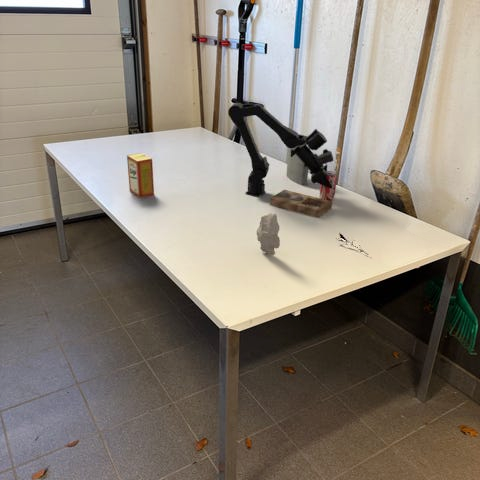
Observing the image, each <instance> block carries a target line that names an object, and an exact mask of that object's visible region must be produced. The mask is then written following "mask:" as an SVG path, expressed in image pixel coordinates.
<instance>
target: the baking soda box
mask: <svg viewBox="0 0 480 480" xmlns="http://www.w3.org/2000/svg"><path fill="white" fill-rule="evenodd" d="M126 158H127V159H126V160H127V161H126V162H127V171H128V185H129V186H128V187H129V192H130V191H131V193H132V192H133V193H132V194H134V195H135V194H136V195H135V196H137V197H138V196H139V197H138V198H141V197H142V198H146V197H149V196H150V197H151V196H154V195H155V188H154V186H155V185H154V168H153V159H152V158H151V157H149V156H147V155H146V154H144V153H135V154H129V155H126Z"/></svg>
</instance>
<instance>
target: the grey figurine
mask: <svg viewBox="0 0 480 480" xmlns="http://www.w3.org/2000/svg"><path fill="white" fill-rule="evenodd" d="M277 217H278V216H277V214H276V213H271V212H270V213H269V214H267V215H263V216H261V217H260V221H259V226H258V228H257V229H256V237H257V238H256V239H257V241H258V242H259V243H260V248H259V249H260V250H261V251H262V252H263V253H265V254H266V255H270V256H275V254H276V251H275V249H278V248H280V246H281V240H280V237H279V236H278V235H279V231H280V224H279V222H278V218H277Z"/></svg>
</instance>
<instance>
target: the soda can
mask: <svg viewBox="0 0 480 480" xmlns="http://www.w3.org/2000/svg"><path fill="white" fill-rule="evenodd" d="M327 178H328V180H329V182H330V183H331V185H332V188H331V189H330V188H328V187H326V186H323V185H321V184H320V189H319V197H318V198H320V199H324V200H328V201H332V202H333V201H334V200H335V197H336V189H337V181H338V175H337V172H335V171H334V170H333V171H332V170H327Z"/></svg>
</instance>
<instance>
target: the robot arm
mask: <svg viewBox="0 0 480 480" xmlns="http://www.w3.org/2000/svg"><path fill="white" fill-rule="evenodd" d="M227 114H228V116H229V118H230V120H231V121H232V123H233V124H234V125H235V126H236V127H237V129H238V131H239V133H240V136H241V139H242V141H243V144H244V146H245V147H246V150H247V153H248V155H249V157H250V161H251V168H252V169H251V171H250V172H249V173H250V174H249V175H248V178H247V191H246V192H245V194H246V195H250V196H253V197H260V196H262V195H264V194H265V193H266V191H265V189H266V186H265V185H266V184H265V180H264V179H265V178H266V177H267V175H268V172H269V170H270V165H271V164H270V163H269V161H268V159H267V156H264V157H263V156H262V155H261V153H260V151H259V148H258V145H257V143H256V141H255V138H254V137H253V134H252V131H251V129H250V126H249V123H248V118H247V117H252V116H255V117H257V118H259V120H261V121H262V122H263V123H264V124H265V125H266V126H268V127H269V129H271V130H272V131H273V132H275V134H276V135H278V137H279V139H280V140H281V142H282V143H283V144H284V145H285V146H286V147H287V148H295V147H296V148H295V149H291V157H292V156H294V155H295V154H296V156H297V157H298V158H299V159H300V160H301V161H302V162H303V164H304V167H307V168H308V171H309V173H310V176H311V177H310V181H311V183H312V184H313V185H315V184H319V185H320V186H321V185H323V186H326V187H328V188H330V189H331V188H332V185H331V183H330V182H329V180H328V178H327V171H328V163H331V162H333V161H334V159H335V158H334V156H333V153H332V151H331V150H329V149H327V148H324V149H323V150H322V153H321V154H319V155H318V153H315V152H313V151H317V150H319V149H320V148H321V147H322V146H324V145H325V144H326V143H327V142H328V140H327V138H326V137H325V135H324V134H323V133H322V132H320V131H319V130H318V129H317V128H315V129H314V130H313V131H312V132H311V133H310V134H309V135H304V134H299V133H298V132H297V131H295V130H293V129H292V128H290V127H287V126H286V125H284V124H283V123H282V122H280V120H278V119H277V118H276V117H275V116H274V115H272V113H270V112H269V111H268V110H267V109H266V108H265V107H263V104H260V103H253V104H251V103H248V104H247V103H244V104H243V103H242V102H234V103H233V104H232V105H231V106H230V107H228V112H227ZM301 145H302V146H301ZM308 147H309V148H310V149H309V148H308ZM324 164H325V165H324Z"/></svg>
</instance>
